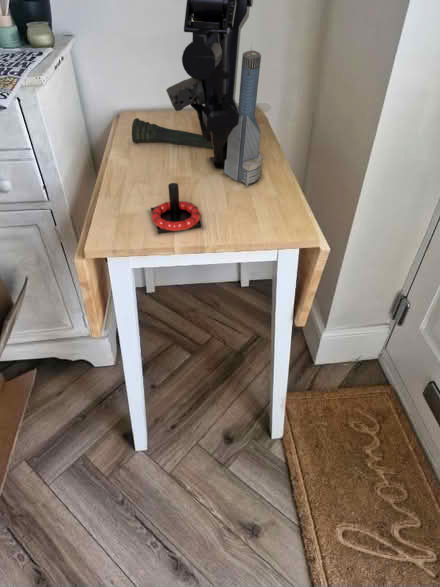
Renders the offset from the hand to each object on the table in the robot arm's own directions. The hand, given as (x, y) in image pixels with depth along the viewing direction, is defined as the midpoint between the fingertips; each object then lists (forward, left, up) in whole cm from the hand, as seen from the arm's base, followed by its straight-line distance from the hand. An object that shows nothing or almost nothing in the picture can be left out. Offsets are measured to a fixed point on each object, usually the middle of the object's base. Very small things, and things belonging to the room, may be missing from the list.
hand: (210, 145), depth 91 cm
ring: (+9, -10, -10) cm, 17 cm away
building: (-8, +10, -12) cm, 17 cm away
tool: (-31, 0, -12) cm, 33 cm away
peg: (+8, -10, -12) cm, 17 cm away
